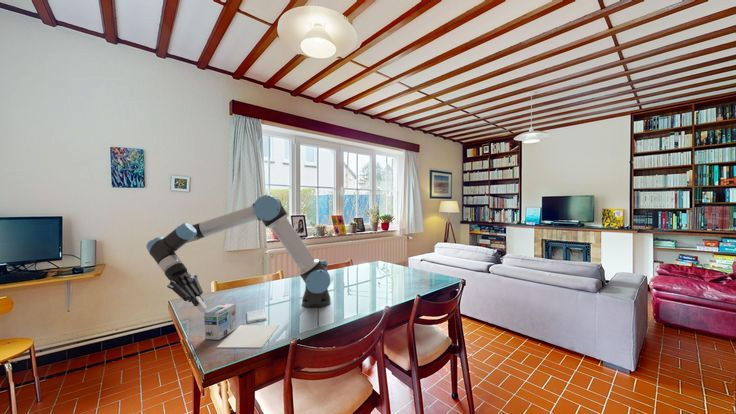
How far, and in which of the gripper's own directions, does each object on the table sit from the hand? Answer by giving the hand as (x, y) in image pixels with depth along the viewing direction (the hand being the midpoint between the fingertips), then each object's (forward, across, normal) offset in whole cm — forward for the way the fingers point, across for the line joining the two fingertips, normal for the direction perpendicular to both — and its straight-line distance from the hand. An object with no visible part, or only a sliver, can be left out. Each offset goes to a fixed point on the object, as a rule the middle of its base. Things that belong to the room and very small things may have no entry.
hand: (204, 310), depth 116 cm
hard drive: (+14, -20, +1) cm, 24 cm away
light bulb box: (+13, 0, 0) cm, 13 cm away
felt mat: (+21, -2, +9) cm, 23 cm away
